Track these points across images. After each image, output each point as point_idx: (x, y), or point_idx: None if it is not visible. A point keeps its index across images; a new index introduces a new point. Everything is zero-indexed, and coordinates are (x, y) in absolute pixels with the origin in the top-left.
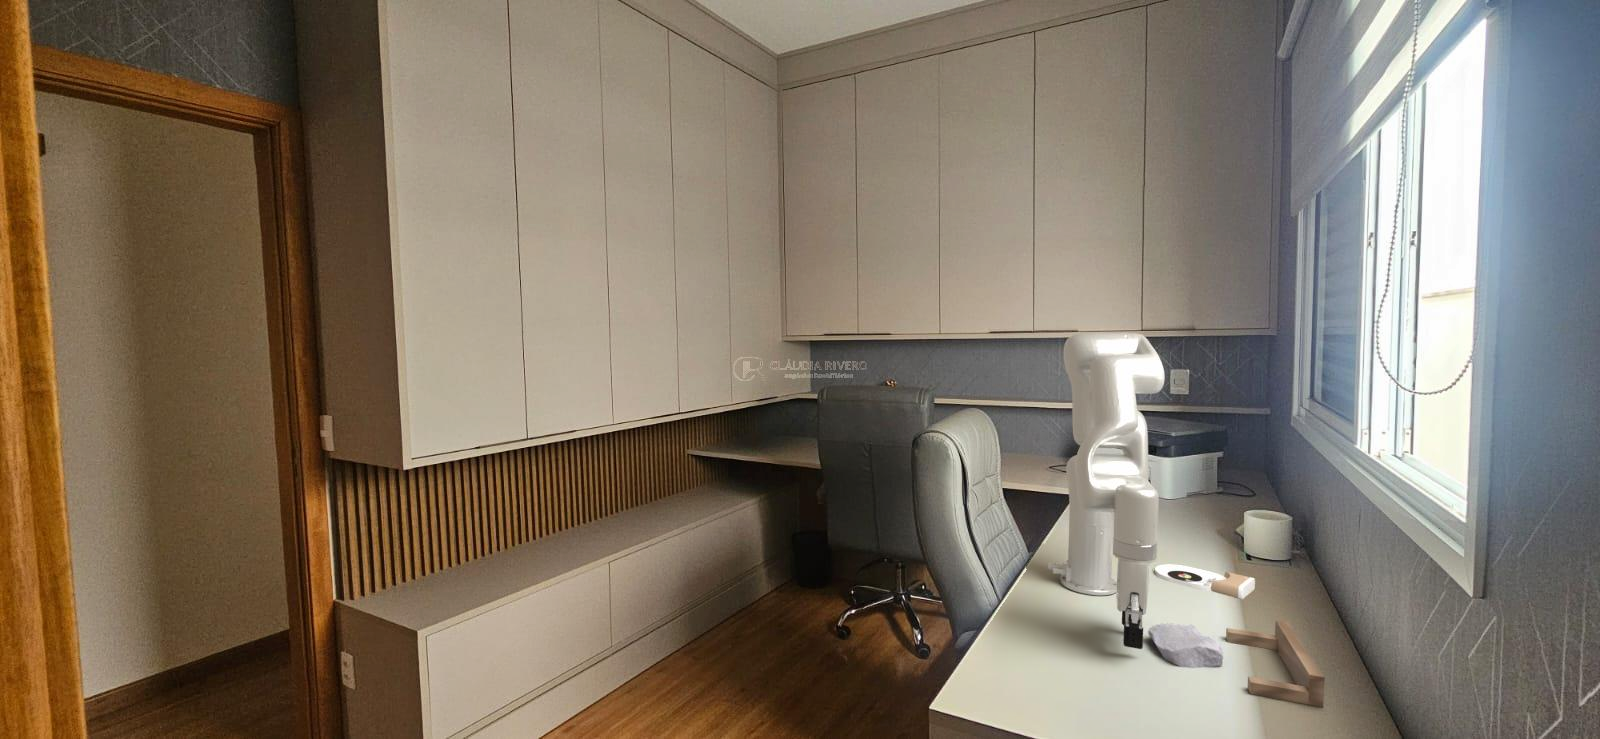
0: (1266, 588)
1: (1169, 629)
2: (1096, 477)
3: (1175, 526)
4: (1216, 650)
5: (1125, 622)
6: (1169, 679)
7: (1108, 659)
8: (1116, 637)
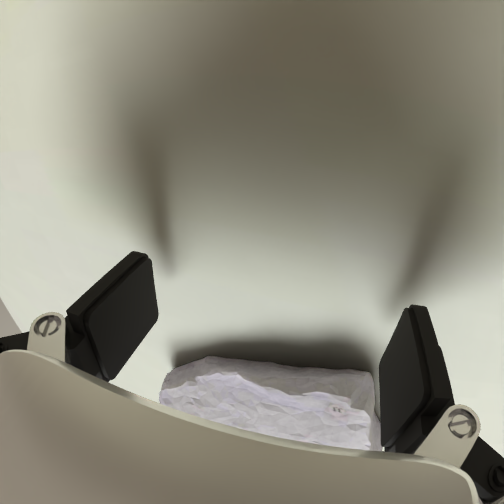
0: None
1: (314, 443)
2: None
3: None
4: None
5: (403, 327)
6: None
7: (106, 165)
8: (355, 237)
